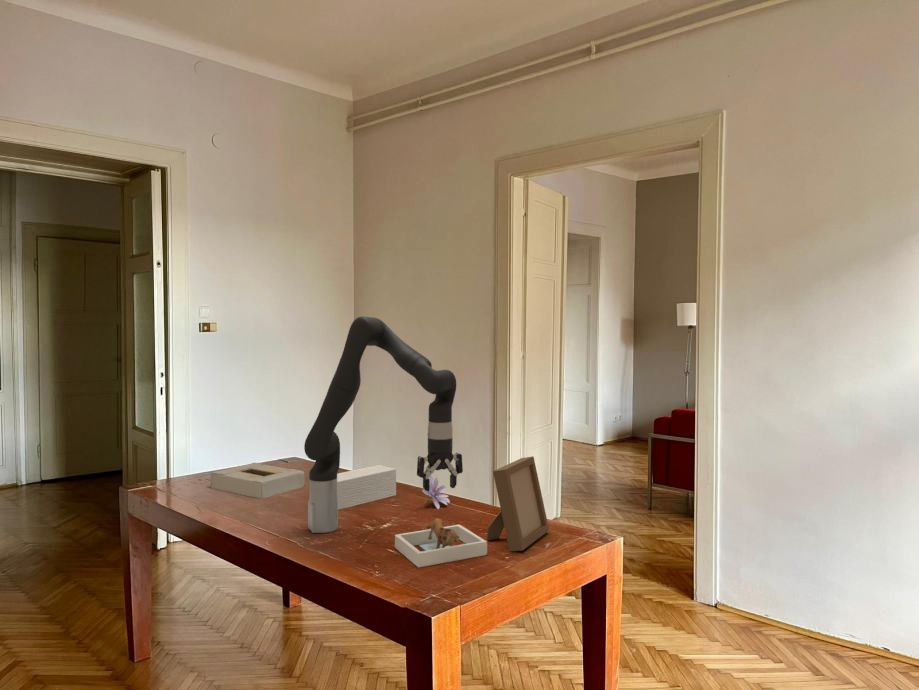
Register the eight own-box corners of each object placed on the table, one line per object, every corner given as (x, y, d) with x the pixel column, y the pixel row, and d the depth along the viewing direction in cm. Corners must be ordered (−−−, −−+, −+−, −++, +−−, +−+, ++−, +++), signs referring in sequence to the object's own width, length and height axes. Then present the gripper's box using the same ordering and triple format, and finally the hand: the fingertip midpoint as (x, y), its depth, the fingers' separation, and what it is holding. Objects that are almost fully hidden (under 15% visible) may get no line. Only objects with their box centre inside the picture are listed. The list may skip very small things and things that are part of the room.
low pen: (418, 567, 190) (418, 553, 190) (394, 547, 206) (394, 534, 206) (487, 554, 200) (487, 541, 200) (459, 536, 216) (459, 524, 216)
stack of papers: (379, 490, 275) (379, 464, 274) (396, 495, 267) (396, 469, 267) (313, 506, 252) (312, 478, 251) (329, 512, 244) (329, 483, 244)
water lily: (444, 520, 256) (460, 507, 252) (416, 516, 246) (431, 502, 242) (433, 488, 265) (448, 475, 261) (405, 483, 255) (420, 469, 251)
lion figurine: (456, 557, 201) (463, 533, 198) (441, 560, 198) (448, 535, 195) (433, 527, 212) (439, 504, 209) (418, 530, 209) (424, 506, 206)
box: (305, 487, 281) (254, 477, 298) (305, 469, 281) (253, 460, 298) (262, 501, 262) (210, 489, 279) (262, 482, 261) (209, 471, 278)
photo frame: (549, 533, 220) (549, 458, 219) (522, 553, 201) (522, 471, 200) (508, 526, 227) (508, 453, 226) (478, 545, 208) (478, 466, 207)
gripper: (423, 440, 195) (423, 494, 196) (466, 436, 201) (466, 489, 202) (413, 435, 202) (413, 488, 202) (455, 432, 208) (455, 483, 209)
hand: (439, 489), depth 202 cm, fingers open, 8 cm apart
